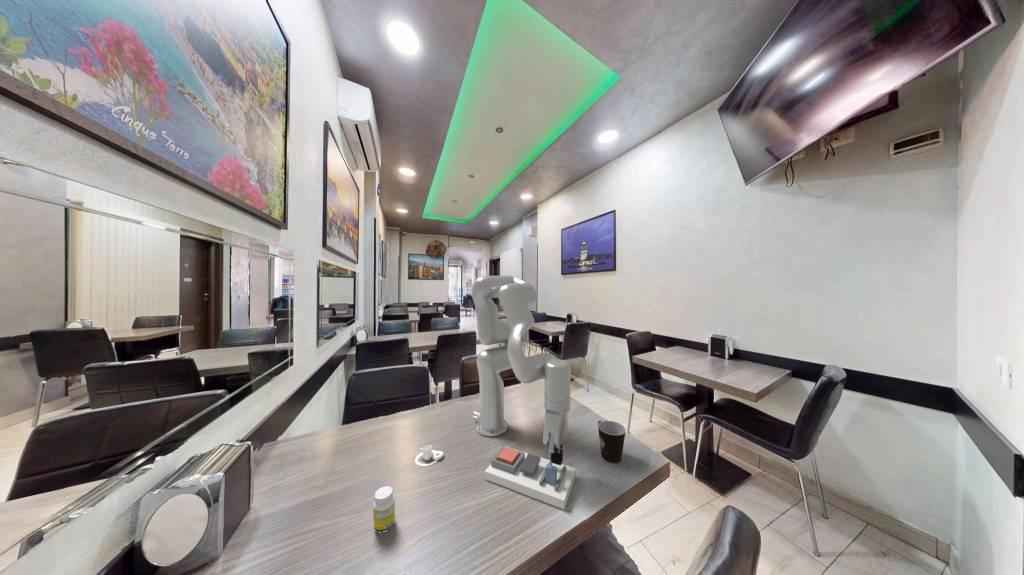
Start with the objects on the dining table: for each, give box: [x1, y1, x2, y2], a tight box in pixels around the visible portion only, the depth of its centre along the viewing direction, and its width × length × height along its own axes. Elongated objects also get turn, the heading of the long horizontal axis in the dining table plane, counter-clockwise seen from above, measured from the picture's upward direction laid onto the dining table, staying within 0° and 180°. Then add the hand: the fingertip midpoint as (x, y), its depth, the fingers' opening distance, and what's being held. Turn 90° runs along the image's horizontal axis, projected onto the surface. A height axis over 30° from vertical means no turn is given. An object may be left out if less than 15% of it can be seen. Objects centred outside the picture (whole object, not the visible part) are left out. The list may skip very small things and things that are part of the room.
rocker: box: [520, 452, 542, 476], centre depth 82 cm, size 4×6×1 cm, turn 154°
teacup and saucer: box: [414, 444, 444, 467], centre depth 91 cm, size 9×8×4 cm
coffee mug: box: [597, 420, 627, 464], centre depth 93 cm, size 12×9×10 cm
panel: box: [484, 445, 577, 510], centre depth 83 cm, size 24×13×4 cm, turn 64°
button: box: [497, 448, 519, 465], centre depth 86 cm, size 5×5×2 cm
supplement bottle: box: [372, 485, 396, 533], centre depth 67 cm, size 5×5×8 cm
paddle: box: [545, 464, 558, 485], centre depth 77 cm, size 3×2×5 cm, turn 64°
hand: (556, 462), depth 83 cm, fingers closed
